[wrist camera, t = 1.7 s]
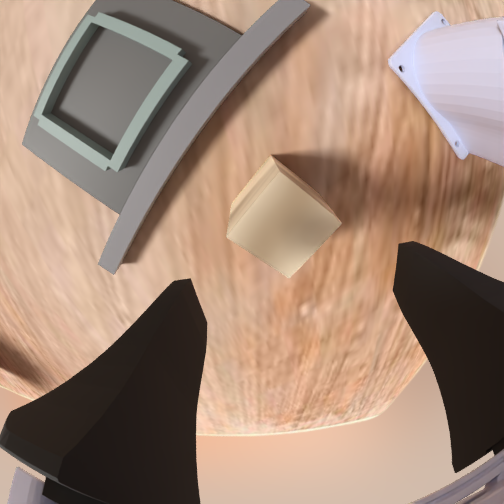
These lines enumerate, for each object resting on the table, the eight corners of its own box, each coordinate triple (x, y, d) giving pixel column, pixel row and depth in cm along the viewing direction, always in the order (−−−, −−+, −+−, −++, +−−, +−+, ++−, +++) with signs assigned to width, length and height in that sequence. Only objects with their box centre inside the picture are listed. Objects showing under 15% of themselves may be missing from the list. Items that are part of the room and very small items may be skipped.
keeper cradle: (241, 37, 12) (241, 30, 11) (121, 212, 17) (112, 220, 16) (114, -18, 9) (105, -25, 7) (24, 143, 14) (12, 147, 13)
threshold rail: (305, 12, 11) (310, 4, 10) (121, 264, 19) (113, 274, 18) (285, 0, 11) (289, -9, 9) (105, 254, 19) (97, 264, 18)
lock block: (318, 192, 17) (342, 223, 13) (279, 236, 19) (289, 278, 14) (270, 154, 16) (279, 171, 11) (231, 203, 17) (226, 237, 13)
